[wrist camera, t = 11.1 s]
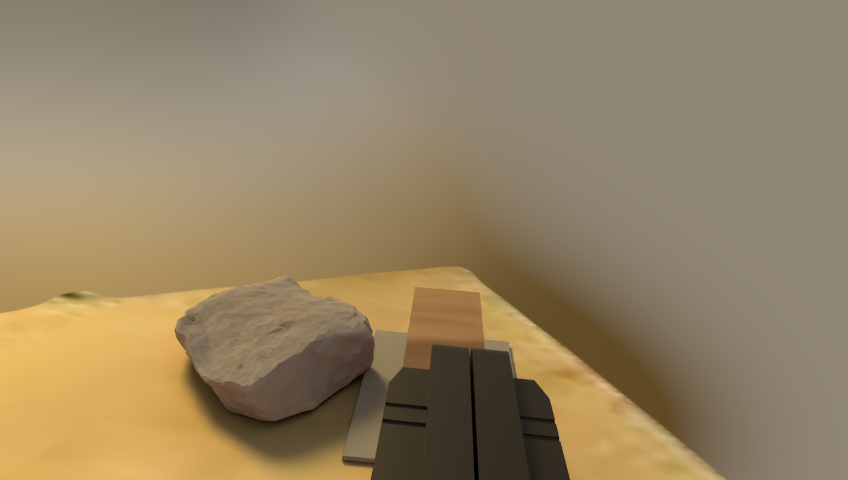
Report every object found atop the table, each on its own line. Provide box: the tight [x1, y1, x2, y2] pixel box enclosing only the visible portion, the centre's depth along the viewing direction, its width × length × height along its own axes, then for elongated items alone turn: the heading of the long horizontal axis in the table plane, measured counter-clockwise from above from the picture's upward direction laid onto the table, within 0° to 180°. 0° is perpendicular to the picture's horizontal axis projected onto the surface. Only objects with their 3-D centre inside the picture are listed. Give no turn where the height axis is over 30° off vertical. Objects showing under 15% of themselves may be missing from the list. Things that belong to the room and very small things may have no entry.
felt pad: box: [342, 330, 515, 463], centre depth 34 cm, size 13×10×1 cm
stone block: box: [175, 276, 375, 421], centre depth 35 cm, size 12×5×10 cm
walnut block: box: [403, 287, 485, 370], centre depth 32 cm, size 4×4×13 cm
